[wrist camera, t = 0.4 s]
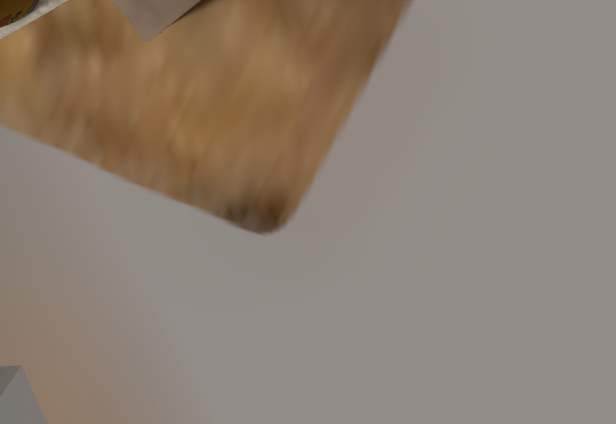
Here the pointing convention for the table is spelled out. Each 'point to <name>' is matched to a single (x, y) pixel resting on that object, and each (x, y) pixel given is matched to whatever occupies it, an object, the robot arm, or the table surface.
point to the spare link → (153, 14)
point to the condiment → (22, 13)
